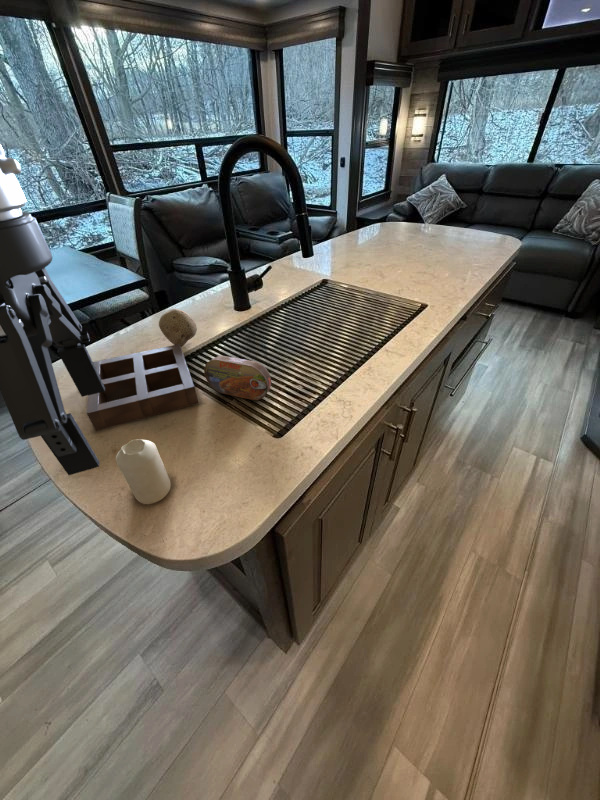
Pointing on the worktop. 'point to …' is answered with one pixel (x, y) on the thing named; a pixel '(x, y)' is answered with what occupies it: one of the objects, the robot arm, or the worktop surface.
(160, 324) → the natural sponge
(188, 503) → the worktop surface
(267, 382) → the tin
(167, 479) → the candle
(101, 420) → the rack
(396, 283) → the worktop surface
